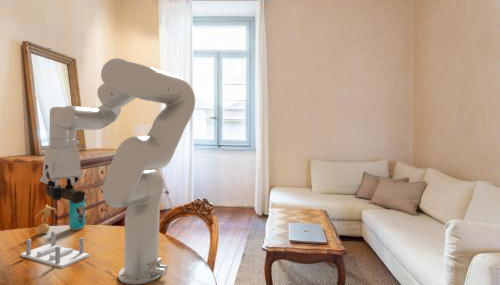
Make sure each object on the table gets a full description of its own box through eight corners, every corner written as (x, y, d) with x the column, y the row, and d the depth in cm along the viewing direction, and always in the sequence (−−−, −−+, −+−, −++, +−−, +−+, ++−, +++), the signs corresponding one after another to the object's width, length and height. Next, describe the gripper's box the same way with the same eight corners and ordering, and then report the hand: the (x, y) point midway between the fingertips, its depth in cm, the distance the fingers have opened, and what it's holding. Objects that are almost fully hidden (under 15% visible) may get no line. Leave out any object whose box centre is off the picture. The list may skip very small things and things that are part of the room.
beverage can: (76, 231, 117) (76, 195, 116) (65, 229, 119) (66, 194, 118) (88, 227, 122) (88, 192, 122) (78, 225, 124) (78, 191, 124)
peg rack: (89, 256, 95) (89, 239, 94) (62, 268, 86) (62, 249, 86) (49, 245, 102) (49, 230, 102) (20, 256, 93) (20, 238, 93)
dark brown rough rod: (85, 202, 92) (86, 187, 92) (73, 204, 89) (73, 189, 89) (56, 194, 102) (56, 181, 102) (43, 196, 99) (43, 183, 98)
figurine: (51, 229, 118) (51, 201, 118) (60, 232, 116) (60, 203, 115) (28, 236, 110) (29, 205, 110) (38, 238, 108) (38, 207, 108)
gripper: (80, 143, 103) (79, 192, 104) (28, 144, 89) (28, 201, 89) (93, 144, 100) (92, 195, 101) (42, 145, 85) (41, 205, 86)
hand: (62, 197), depth 95 cm, fingers closed on dark brown rough rod, 3 cm apart
